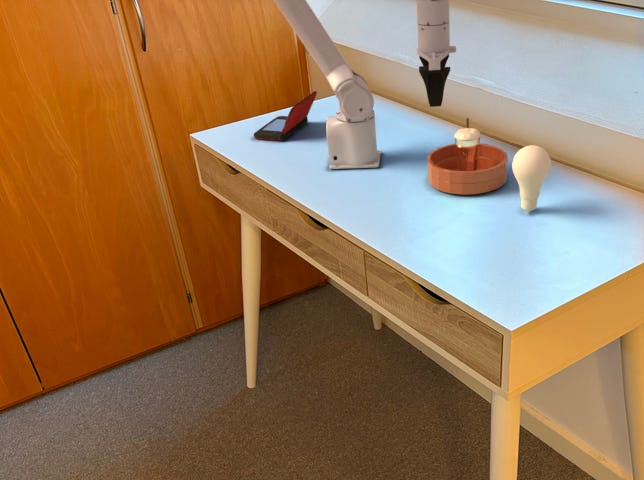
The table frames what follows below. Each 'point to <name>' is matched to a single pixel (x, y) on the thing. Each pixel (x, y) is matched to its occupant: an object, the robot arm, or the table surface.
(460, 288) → the table surface
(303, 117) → the handheld game console
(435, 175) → the bowl
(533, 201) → the lightbulb
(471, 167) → the milkshake
